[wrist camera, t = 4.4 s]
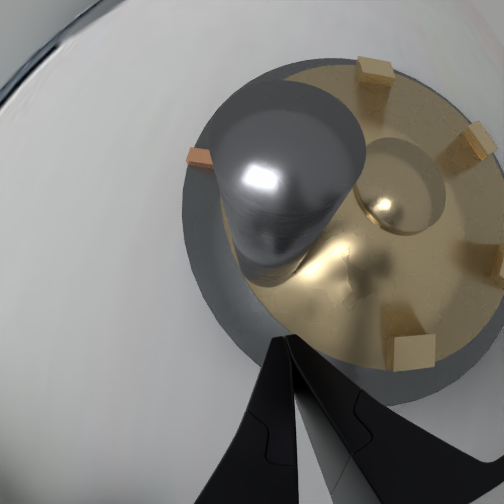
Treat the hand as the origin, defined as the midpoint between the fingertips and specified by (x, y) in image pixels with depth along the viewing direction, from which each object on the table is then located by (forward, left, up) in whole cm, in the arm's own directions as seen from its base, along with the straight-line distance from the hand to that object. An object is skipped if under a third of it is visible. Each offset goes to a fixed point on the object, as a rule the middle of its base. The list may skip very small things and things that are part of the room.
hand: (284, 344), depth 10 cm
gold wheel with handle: (+4, -11, -7) cm, 13 cm away
